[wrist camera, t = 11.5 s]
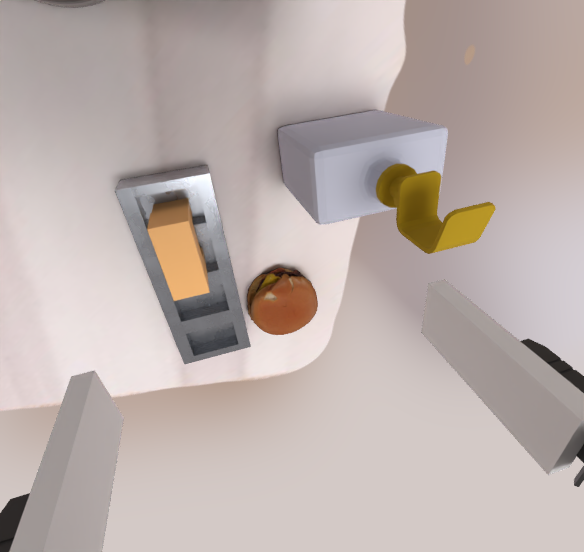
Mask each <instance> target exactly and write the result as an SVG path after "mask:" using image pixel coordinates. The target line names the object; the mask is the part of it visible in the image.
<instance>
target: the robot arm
mask: <svg viewBox="0 0 584 552" xmlns="http://www.w3.org/2000/svg"><path fill="white" fill-rule="evenodd" d="M36 1H38V2H42V3H45V4H49V5H54V6H60V7H84V6H90V5H94V4H97V3H100V2H102V1H105V0H36ZM421 333H422V334H423V335H424V336H425V337H426V338H427V340H428V341H429V342H430V343H431V344H432V345H433V346H434V347H435V349H436V350H437V351H438V352H439V353H440V354H441V355H442V356H443V357H444V358H445V360H446V361H447V362H448V363H449V364H450V365H451V366H452V367H453V369H454V370H455V371H456V372H457V373H458V374H459V375H460V377H461V378H462V379H463V380H464V381H465V382H466V383H467V384H468V385H469V387H470V388H471V389H472V390H473V391H474V392H475V393H476V394H477V396H478V397H479V398H480V399H481V400H482V401H483V402H484V404H485V405H486V406H487V407H488V408H489V409H490V410H491V411H492V412H493V414H494V415H495V416H496V417H497V418H498V419H499V420H500V421H501V422H502V424H503V425H504V426H505V427H506V428H507V429H508V430H509V431H510V433H511V434H512V435H513V436H514V437H515V438H516V439H517V440H518V442H519V443H520V444H521V445H522V446H523V447H524V448H525V450H526V451H527V452H528V453H529V454H530V455H531V456H532V457H533V458H534V460H535V461H536V462H537V463H538V464H539V465H540V466H541V468H542V469H543V470H544V471H545V472H546V473H547V474H548V475H550V474H553V473H555V472H558V471H560V470H563V469H565V468H568V467H570V465H571V464H572V462H573V461H574V459H575V458H576V456H577V457H578V458H579V459H580V460H581V461H582V462H583V463H584V376H583V375H581V374H580V373H579V372H577V371H576V370H573V369H572V367H571V366H570V365H568V364H567V363H566V362H565V361H561V359H560V358H559V357H558V356H557V355H556V354H554V353H553V352H552V351H550V350H549V349H548V348H546V347H545V346H543V345H541V344H538V343H536V342H534V341H532V340H530V339H526V340H523V341H519V340H518V339H517V338H516V337H514V336H513V335H512V334H511V333H510V332H508V331H507V330H506V329H505V328H503V327H502V326H501V325H500V324H498V323H497V322H496V321H495V320H494V319H492V318H491V317H490V316H489V315H488V314H486V313H485V312H484V311H483V310H481V309H480V308H479V307H478V306H477V305H475V304H474V303H473V302H472V301H470V300H469V299H468V298H467V297H466V296H464V295H463V294H462V293H461V292H460V291H458V290H457V289H456V288H455V287H453V286H452V285H451V284H450V283H449V282H447V281H446V280H445V279H444V280H440V281H436V282H432V283H429V284H428V289H427V297H426V303H425V310H424V317H423V324H422V332H421ZM123 421H124V417H123V415H122V414H121V412H120V411H119V409H118V407H117V406H116V404H115V402H114V401H113V399H112V398H111V396H110V394H109V393H108V391H107V390H106V388H105V386H104V385H103V383H102V382H101V380H100V378H99V377H98V375H97V374H96V372H95V371H91V372H87V373H83V374H79V375H76V376H72V377H71V379H70V382H69V385H68V387H67V390H66V393H65V396H64V399H63V402H62V404H61V407H60V410H59V413H58V416H57V418H56V422H55V424H54V427H53V430H52V433H51V435H50V438H49V441H48V444H47V447H46V450H45V452H44V455H43V458H42V461H41V464H40V466H39V469H38V472H37V475H36V478H35V481H34V483H33V486H32V489H31V492H30V493H29V494H26V495H23V496H19V497H16V498H13V499H10V501H9V502H8V503H7V505H6V506H5V508H4V509H3V510H2V512H1V513H0V552H102V548H103V542H104V536H105V530H106V524H107V518H108V512H109V506H110V500H111V494H112V488H113V481H114V475H115V469H116V463H117V457H118V451H119V445H120V439H121V433H122V427H123ZM583 480H584V466H583V467H582V469H581V470H580V472H579V473H578V475H577V476H576V477H575V480H574V485H575V486H577V487H579V486H580V484H581V483H582V481H583Z"/></svg>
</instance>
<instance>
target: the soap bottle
mask: <svg viewBox="0 0 584 552" xmlns="http://www.w3.org/2000/svg"><path fill="white" fill-rule="evenodd" d="M447 137H448V131H447V128H446V127H444V126H442V125H437V124H434V123H429V122H425V121H421V120H417V119H413V118H408V117H404V116H400V115H396V114H392V113H387V112H383V111H378V110H374V111H368V112H362V113H357V114H351V115H345V116H339V117H333V118H328V119H322V120H316V121H310V122H304V123H299V124H293V125H287V126H284V127H282V128H279V129H278V140H279V148H280V156H281V164H282V172H283V180H284V184H285V186H286V187H287V188H288V189H289V191H290V192H291V193H292V194H293V195H294V197H295V198H296V199H297V200H298V201H299V202H300V204H301V205H302V206H303V207H304V208H305V210H306V211H307V212H308V213H309V214H310V215H311V217H312V218H313V219H314V220H315V221H316V223H318V224H330V223H334V222H338V221H343V220H347V219H352V218H356V217H361V216H365V215H369V214H374V213H378V212H383V211H387V210H392V209H396V208H397V218H396V220H397V227H398V230H399V231H400V233H401V234H402V235H403V236H404V237H406V238H407V239H408V240H410V241H411V242H412V243H414V244H415V245H416V246H417V247H419V248H420V249H421V250H423V251H424V252H425V253H428V254H430V253H434V252H438V251H442V250H446V249H450V248H454V247H458V246H462V245H466V244H470V243H474V242H476V241H477V240H478V239H479V238H480V237H481V234H482V233H483V231H484V229H485V227H486V226H487V224H488V222H489V220H490V218H491V216H492V214H493V213H494V211H495V206H494V205H493V204H492V203H490V202H486V203H482V204H478V205H473V206H469V207H465V208H461V209H457V210H454V211H452V212H450V213H449V214H448V215H447V216H446V217H445V218H444V221H443V223H442V222H441V221H440V220H439V218H438V216H437V207H438V199H439V194H440V189H441V181H442V174H443V167H444V159H445V152H446V144H447Z"/></svg>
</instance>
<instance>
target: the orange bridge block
mask: <svg viewBox="0 0 584 552" xmlns="http://www.w3.org/2000/svg"><path fill="white" fill-rule="evenodd" d="M147 230H148V233H149V236H150V238H151V241H152V244H153V246H154V249H155V252H156V254H157V257H158V260H159V262H160V265H161V268H162V270H163V273H164V276H165V278H166V281H167V284H168V286H169V289H170V292H171V294H172V297H173V300H174V301H176V300H181V299H185V298H189V297H193V296H197V295H201V294H206V293H210V291H209V283H208V275H207V269H206V260H205V256H204V252H203V249H202V247H200V246H199V243H198V239H197V236H196V232H195V229H194V225H193V221H192V211H191V207H190V204H189V200H188V198H185V199H180V200H175V201H169V202H164V203H159V204H154V205H153V209H152V213H150V218H149V223H148V227H147Z"/></svg>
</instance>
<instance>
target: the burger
mask: <svg viewBox="0 0 584 552" xmlns="http://www.w3.org/2000/svg"><path fill="white" fill-rule="evenodd" d="M248 291H249V293H248V295H247V301H248V314H249V315H250V317H251V320H253V321H254V323H255V324H256V325H257V326H258V327H259V328H260V329H261V330H263V331H264V332H267V333H269V334H273V335H284V334H288V333H292V332H295V331H297V330H299V329H300V328H302V327H304V326H305V325H306V324H307V323H309V322H310V321H311V319H312V318H313V317H314V315H315V314H316V311H317V307H318V302H317V296H316V292H315V289H314V288H313V286H312V283H311V282H310V281H309V280H308V279H306V278H305V277H304V276H303V275H301V273H300V272H298V271H297V270H294V271H290V270H288V269H285V268H277V269H276V270H274V271H271V272H269V273H268V274H262V275H260V276H259V277H257V278H256V279H255V280H254V281H253V283H252V284H251V286H250V288H249V290H248Z"/></svg>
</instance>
